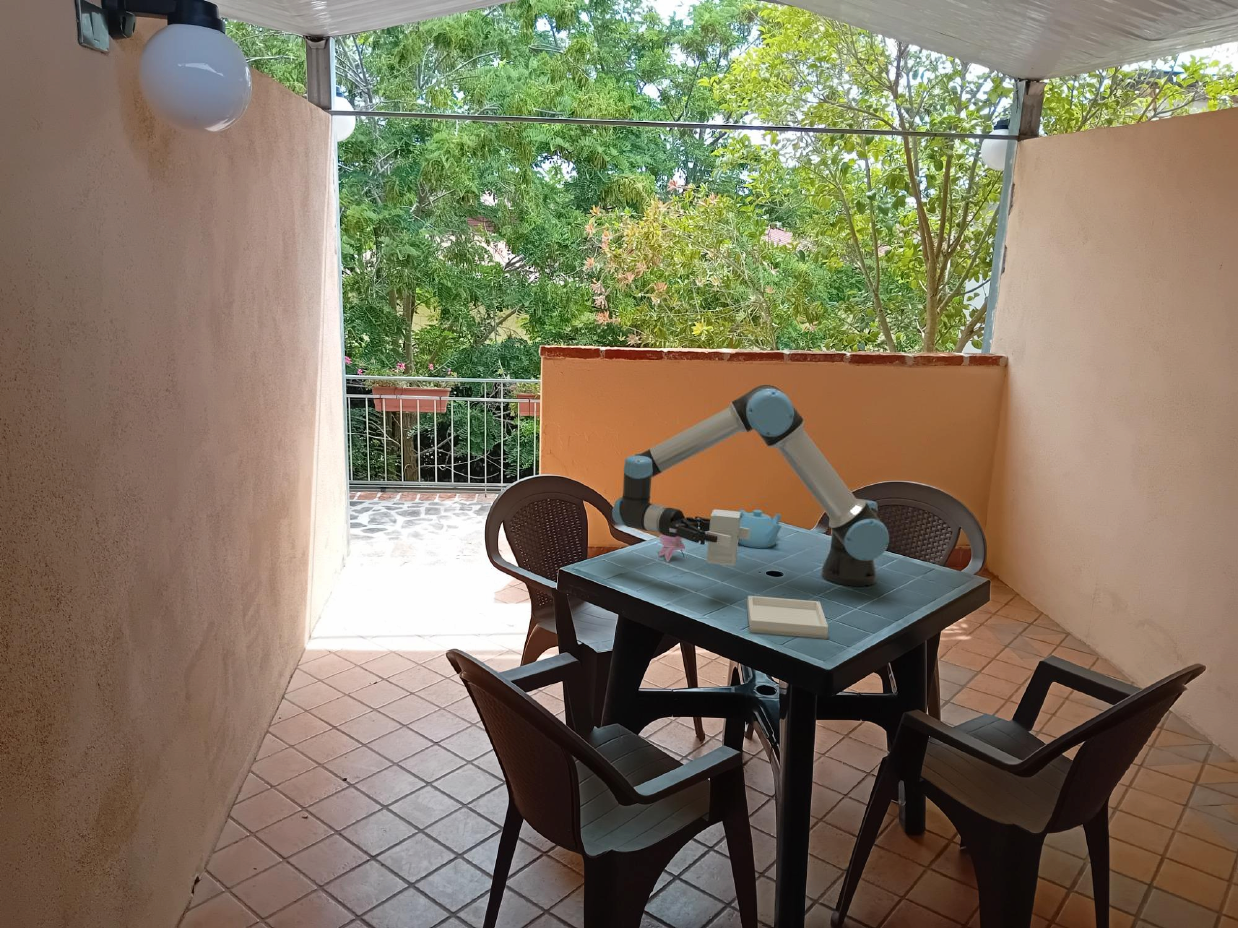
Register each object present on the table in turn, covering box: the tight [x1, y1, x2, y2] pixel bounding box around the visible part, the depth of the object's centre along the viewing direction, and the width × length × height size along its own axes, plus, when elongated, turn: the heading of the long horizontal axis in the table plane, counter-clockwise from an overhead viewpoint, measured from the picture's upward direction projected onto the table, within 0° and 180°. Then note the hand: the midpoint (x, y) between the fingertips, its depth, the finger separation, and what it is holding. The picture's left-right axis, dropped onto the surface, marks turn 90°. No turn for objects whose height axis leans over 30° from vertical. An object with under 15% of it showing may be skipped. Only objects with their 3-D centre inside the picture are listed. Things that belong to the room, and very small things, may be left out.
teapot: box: [737, 509, 782, 549], centre depth 299 cm, size 15×15×11 cm
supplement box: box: [706, 509, 741, 567], centre depth 239 cm, size 7×7×13 cm
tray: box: [746, 595, 829, 640], centre depth 230 cm, size 18×18×3 cm
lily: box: [657, 534, 686, 563], centre depth 278 cm, size 12×12×10 cm
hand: (739, 537), depth 237 cm, fingers closed on supplement box, 9 cm apart
